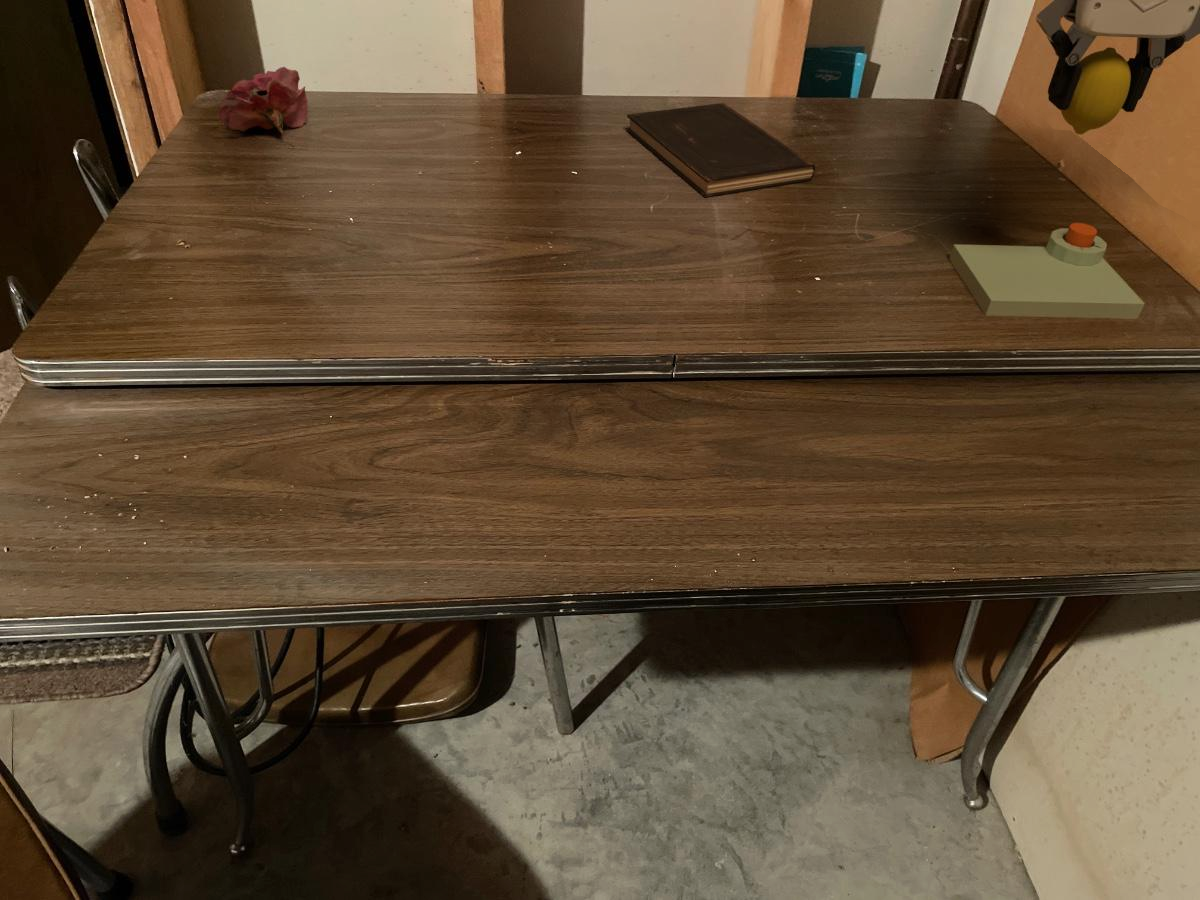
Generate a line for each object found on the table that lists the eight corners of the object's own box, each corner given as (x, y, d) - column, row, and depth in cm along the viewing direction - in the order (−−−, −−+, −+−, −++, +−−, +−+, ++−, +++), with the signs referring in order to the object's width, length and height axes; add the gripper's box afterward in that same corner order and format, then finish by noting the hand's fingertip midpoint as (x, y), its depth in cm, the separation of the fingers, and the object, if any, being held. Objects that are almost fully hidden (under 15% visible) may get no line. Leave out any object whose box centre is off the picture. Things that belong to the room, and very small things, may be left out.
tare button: (1084, 237, 101) (1090, 222, 100) (1095, 249, 99) (1101, 234, 98) (1059, 236, 101) (1065, 222, 100) (1070, 248, 99) (1076, 234, 98)
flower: (234, 152, 126) (237, 77, 125) (309, 159, 127) (312, 85, 126) (209, 131, 114) (211, 48, 113) (291, 138, 115) (294, 57, 115)
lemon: (1118, 146, 86) (1154, 58, 81) (1060, 144, 86) (1092, 55, 81) (1096, 124, 91) (1129, 39, 85) (1040, 122, 91) (1070, 37, 85)
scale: (1082, 257, 104) (1094, 228, 102) (1137, 319, 94) (1151, 289, 92) (944, 253, 104) (953, 225, 102) (985, 316, 94) (996, 286, 91)
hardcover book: (704, 197, 113) (707, 180, 111) (626, 130, 128) (626, 114, 127) (813, 180, 118) (816, 163, 116) (724, 118, 134) (726, 102, 132)
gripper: (1090, -112, 72) (1014, 117, 83) (1303, -104, 72) (1198, 123, 84) (1052, -128, 78) (987, 89, 89) (1250, -120, 78) (1159, 95, 90)
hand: (1090, 104), depth 87 cm, fingers closed on lemon, 5 cm apart
